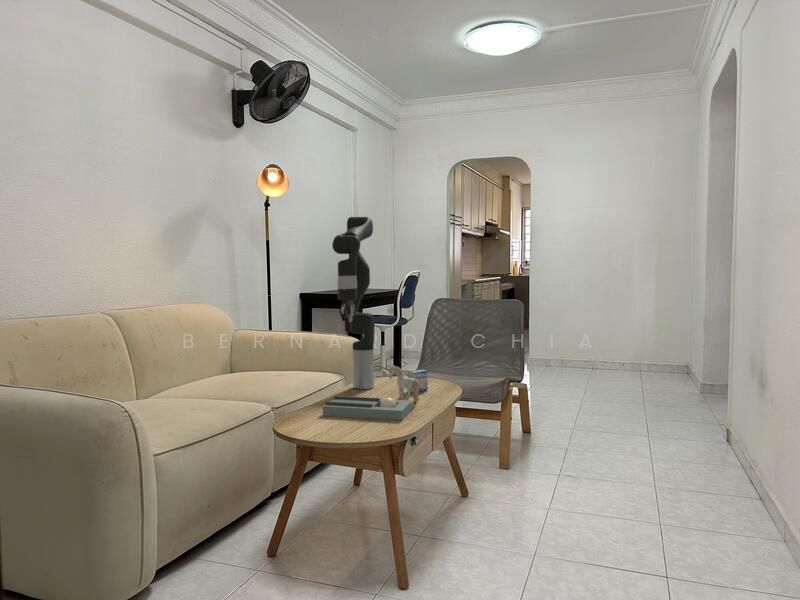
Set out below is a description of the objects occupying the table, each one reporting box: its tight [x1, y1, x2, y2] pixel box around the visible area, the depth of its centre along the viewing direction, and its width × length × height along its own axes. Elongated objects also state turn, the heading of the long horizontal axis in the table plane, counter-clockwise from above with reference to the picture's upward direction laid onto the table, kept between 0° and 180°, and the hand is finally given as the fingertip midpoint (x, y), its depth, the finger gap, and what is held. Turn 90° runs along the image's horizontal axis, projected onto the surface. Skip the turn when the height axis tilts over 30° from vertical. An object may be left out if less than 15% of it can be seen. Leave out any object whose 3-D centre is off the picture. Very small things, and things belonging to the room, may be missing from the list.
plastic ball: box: [380, 397, 396, 408], centre depth 215 cm, size 6×6×6 cm
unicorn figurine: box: [379, 365, 420, 403], centre depth 235 cm, size 7×20×13 cm, turn 52°
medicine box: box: [407, 369, 429, 393], centre depth 252 cm, size 8×4×9 cm, turn 129°
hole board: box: [322, 395, 413, 421], centre depth 217 cm, size 15×30×4 cm, turn 75°
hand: (348, 331), depth 228 cm, fingers closed
